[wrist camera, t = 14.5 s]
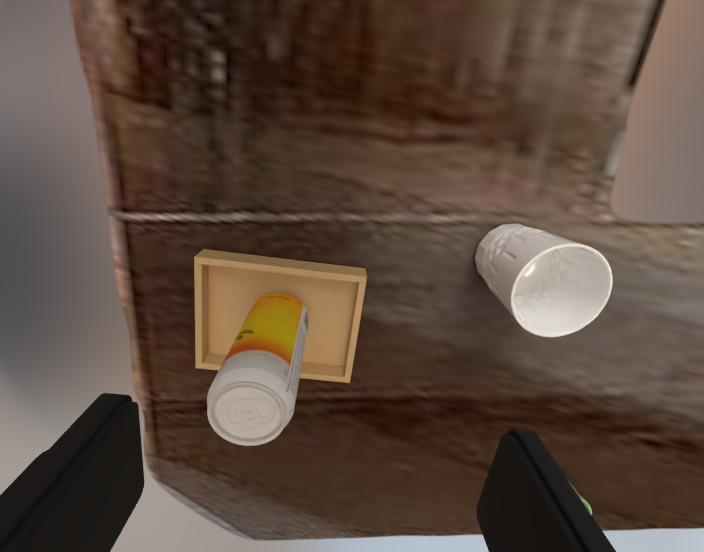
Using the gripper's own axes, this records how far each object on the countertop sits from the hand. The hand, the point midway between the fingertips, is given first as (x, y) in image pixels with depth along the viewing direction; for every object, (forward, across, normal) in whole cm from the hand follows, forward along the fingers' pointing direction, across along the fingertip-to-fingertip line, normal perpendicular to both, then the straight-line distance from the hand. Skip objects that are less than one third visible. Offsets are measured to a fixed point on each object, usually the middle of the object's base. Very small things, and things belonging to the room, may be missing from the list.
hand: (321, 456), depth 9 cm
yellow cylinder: (+28, +4, +10) cm, 30 cm away
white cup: (+28, -18, +1) cm, 34 cm away
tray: (+28, +4, +10) cm, 31 cm away
